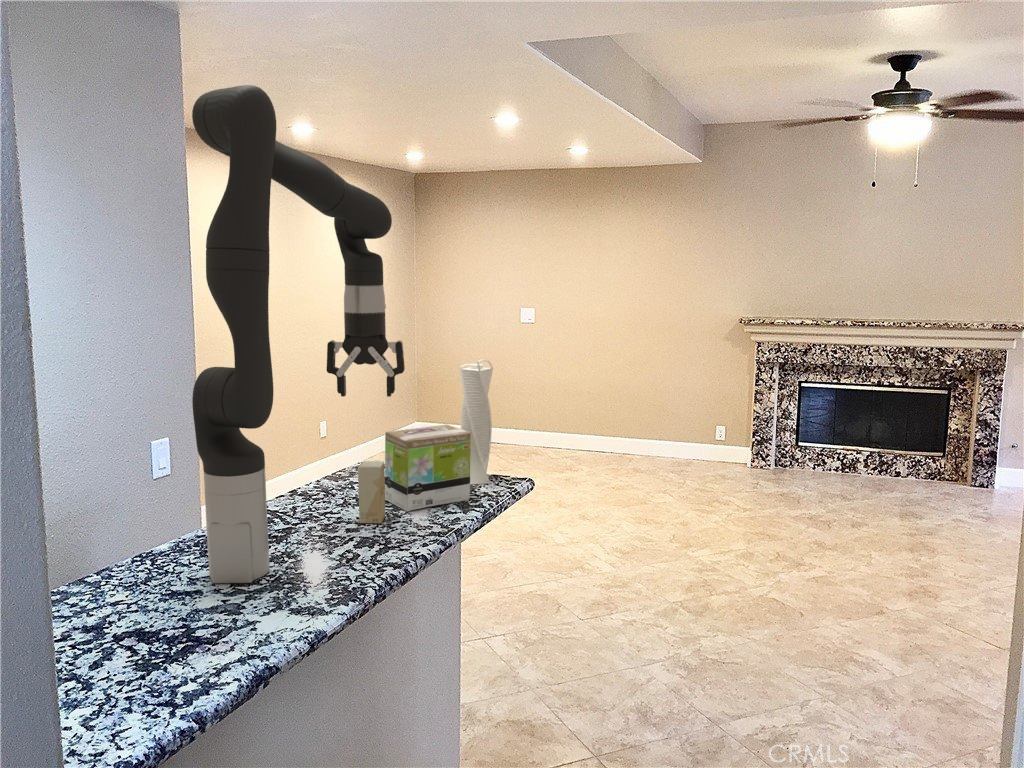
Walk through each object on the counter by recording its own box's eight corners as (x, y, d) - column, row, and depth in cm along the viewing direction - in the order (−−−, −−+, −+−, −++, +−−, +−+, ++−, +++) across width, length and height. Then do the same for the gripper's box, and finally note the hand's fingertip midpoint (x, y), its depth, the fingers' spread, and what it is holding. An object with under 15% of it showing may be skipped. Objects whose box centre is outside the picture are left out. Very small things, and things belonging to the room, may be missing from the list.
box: (381, 524, 157) (380, 467, 155) (358, 523, 157) (357, 467, 156) (385, 515, 162) (384, 460, 161) (364, 515, 163) (362, 460, 161)
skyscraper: (496, 485, 183) (496, 359, 179) (463, 487, 182) (462, 360, 177) (489, 475, 191) (489, 354, 186) (457, 477, 189) (456, 355, 185)
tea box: (408, 513, 164) (407, 440, 161) (384, 500, 172) (382, 431, 169) (471, 500, 173) (471, 430, 170) (446, 488, 181) (445, 422, 178)
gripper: (322, 311, 150) (325, 399, 152) (401, 311, 151) (403, 399, 153) (329, 308, 157) (331, 392, 160) (404, 308, 158) (405, 392, 161)
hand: (366, 395), depth 156 cm, fingers open, 8 cm apart
